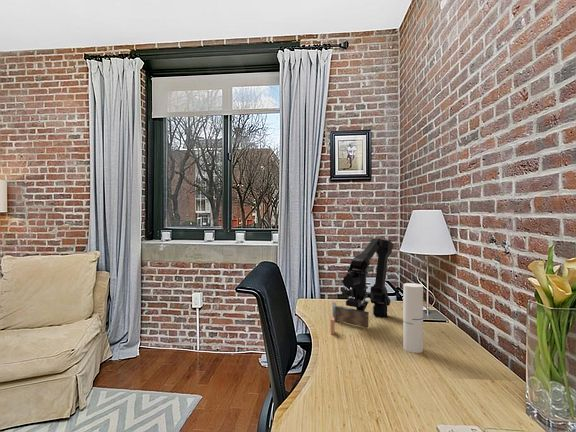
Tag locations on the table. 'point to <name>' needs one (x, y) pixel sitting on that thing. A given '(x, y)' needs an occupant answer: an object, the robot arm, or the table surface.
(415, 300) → the cylindrical container
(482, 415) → the table surface
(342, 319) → the gate
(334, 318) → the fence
